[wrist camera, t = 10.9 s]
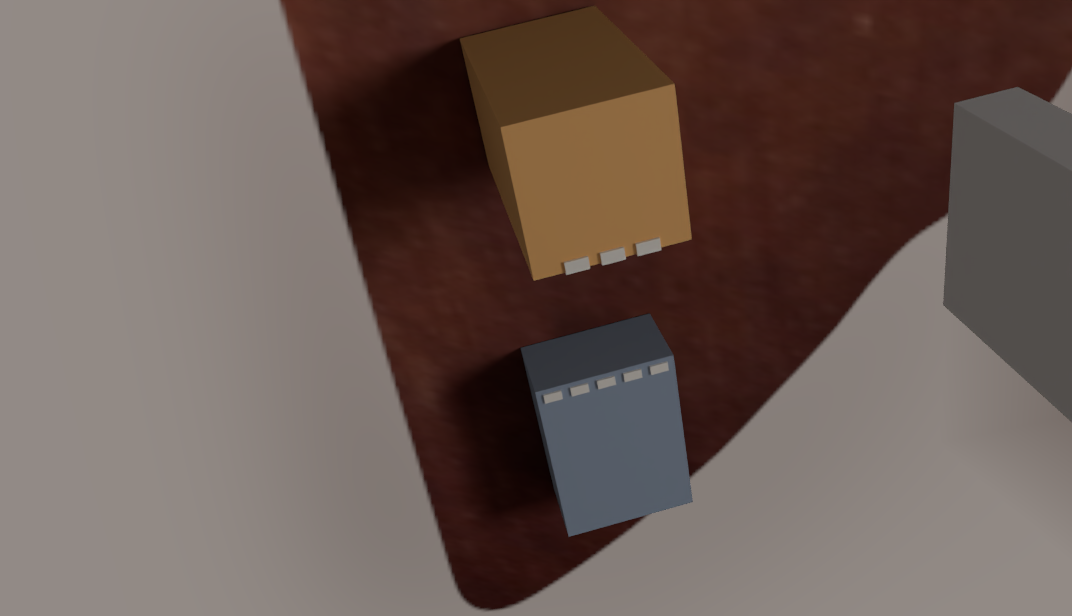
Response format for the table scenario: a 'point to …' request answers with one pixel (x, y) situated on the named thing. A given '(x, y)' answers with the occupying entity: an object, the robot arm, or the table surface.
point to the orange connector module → (579, 140)
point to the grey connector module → (610, 423)
